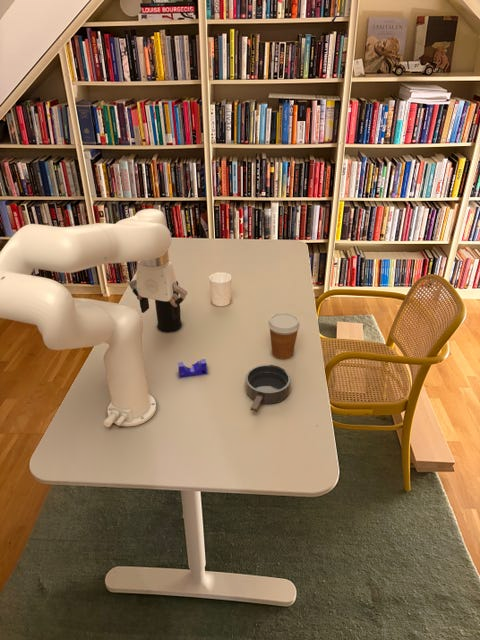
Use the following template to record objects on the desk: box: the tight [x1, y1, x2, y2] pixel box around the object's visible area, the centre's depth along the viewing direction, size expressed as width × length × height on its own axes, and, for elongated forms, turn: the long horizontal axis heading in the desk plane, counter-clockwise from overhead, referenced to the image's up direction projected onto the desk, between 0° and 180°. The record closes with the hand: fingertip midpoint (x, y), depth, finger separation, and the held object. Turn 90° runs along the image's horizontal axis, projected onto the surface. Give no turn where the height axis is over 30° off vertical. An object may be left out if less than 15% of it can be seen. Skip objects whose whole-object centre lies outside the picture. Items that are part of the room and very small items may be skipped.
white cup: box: [208, 272, 232, 307], centre depth 173 cm, size 8×8×10 cm
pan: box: [245, 364, 292, 405], centre depth 132 cm, size 12×12×4 cm
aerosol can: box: [154, 280, 183, 333], centre depth 156 cm, size 8×8×20 cm
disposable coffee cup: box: [267, 312, 301, 360], centre depth 145 cm, size 10×10×12 cm
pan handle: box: [250, 394, 264, 412], centre depth 125 cm, size 6×2×1 cm, turn 159°
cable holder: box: [177, 358, 208, 379], centre depth 139 cm, size 8×4×4 cm, turn 102°
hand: (160, 313), depth 134 cm, fingers open, 9 cm apart
